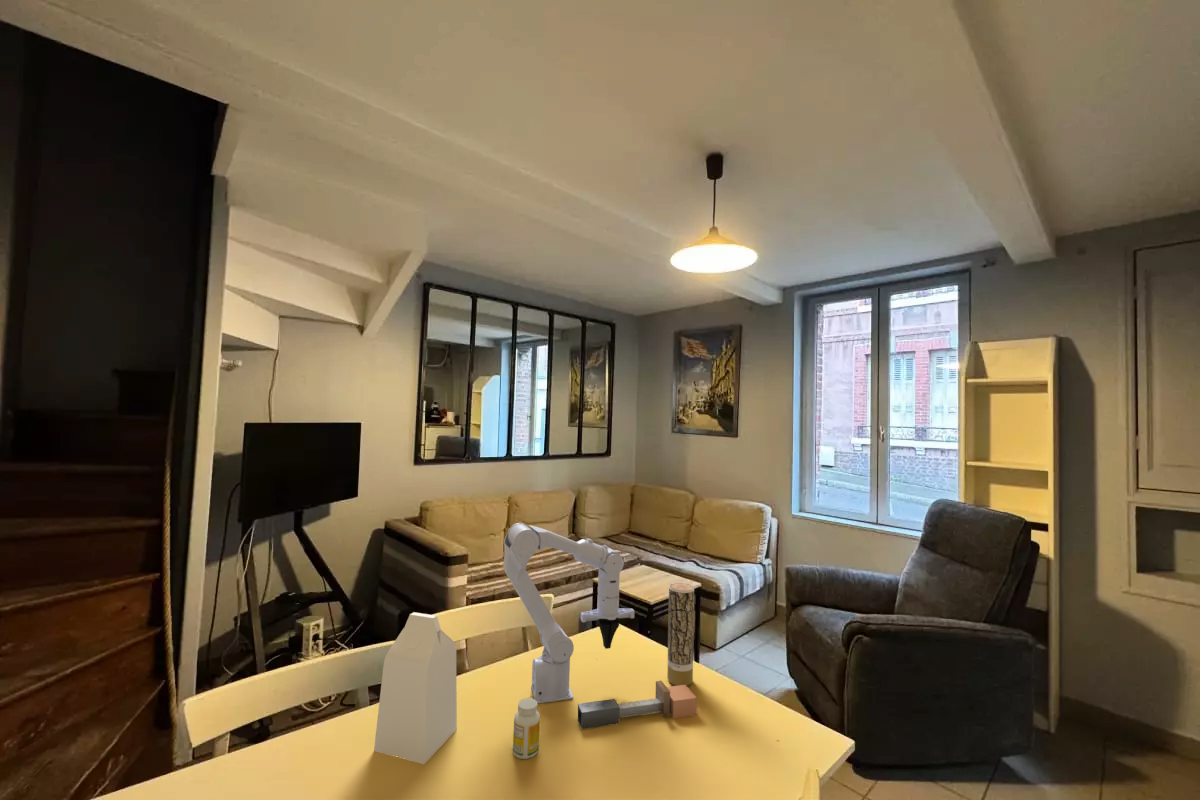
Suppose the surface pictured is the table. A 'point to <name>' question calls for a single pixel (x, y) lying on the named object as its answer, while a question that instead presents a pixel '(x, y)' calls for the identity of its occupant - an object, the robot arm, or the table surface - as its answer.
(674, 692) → the socket block
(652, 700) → the tube
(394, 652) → the milk
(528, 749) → the supplement bottle
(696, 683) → the table surface
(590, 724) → the sleeve
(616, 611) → the robot arm
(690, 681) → the brown cylindrical piece
